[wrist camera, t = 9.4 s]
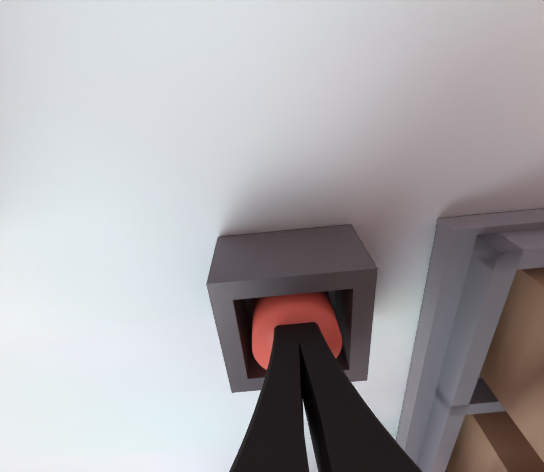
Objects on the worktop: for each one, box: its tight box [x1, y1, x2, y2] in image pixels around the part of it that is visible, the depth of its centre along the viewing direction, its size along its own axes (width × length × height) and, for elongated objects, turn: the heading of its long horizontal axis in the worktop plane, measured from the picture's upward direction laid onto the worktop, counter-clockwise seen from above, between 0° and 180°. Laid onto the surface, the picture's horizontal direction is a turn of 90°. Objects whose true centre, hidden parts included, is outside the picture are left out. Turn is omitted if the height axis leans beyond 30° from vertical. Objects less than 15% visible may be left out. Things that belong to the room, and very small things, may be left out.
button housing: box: [207, 224, 377, 393], centre depth 12 cm, size 5×5×3 cm
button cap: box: [252, 291, 342, 370], centre depth 11 cm, size 3×3×2 cm
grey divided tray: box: [396, 208, 544, 472], centre depth 15 cm, size 18×9×2 cm, turn 5°
